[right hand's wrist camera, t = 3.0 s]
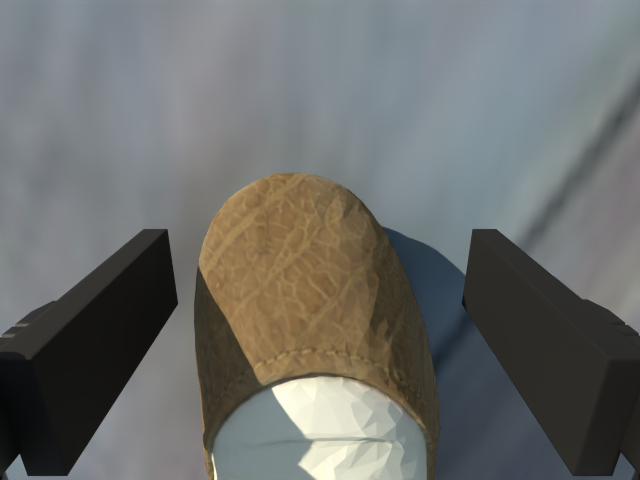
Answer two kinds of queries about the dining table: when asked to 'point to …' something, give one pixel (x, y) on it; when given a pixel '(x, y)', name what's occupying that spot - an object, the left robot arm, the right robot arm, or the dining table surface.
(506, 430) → the dining table surface
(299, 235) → the brown shoe
